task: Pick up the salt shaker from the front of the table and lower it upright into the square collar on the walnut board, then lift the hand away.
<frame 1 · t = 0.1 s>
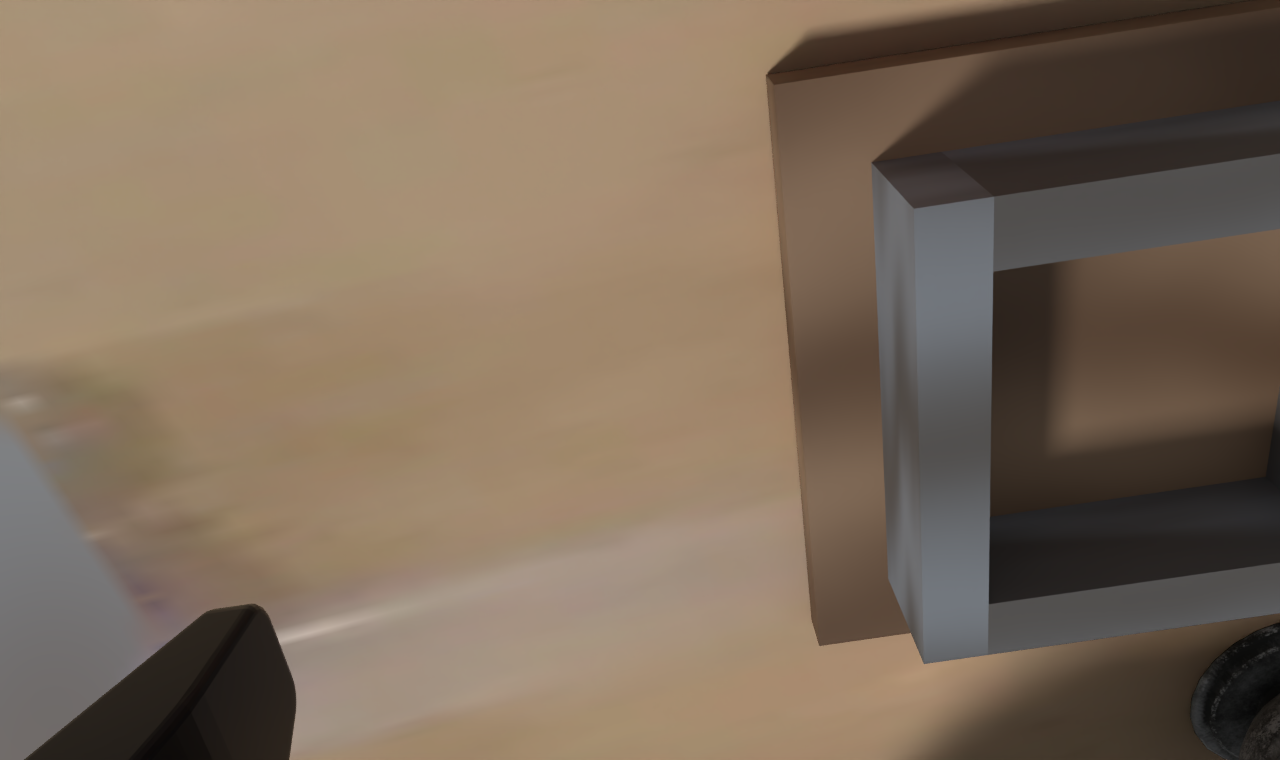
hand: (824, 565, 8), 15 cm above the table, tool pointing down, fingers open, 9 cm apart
socket board: (1095, 338, 24), on the table
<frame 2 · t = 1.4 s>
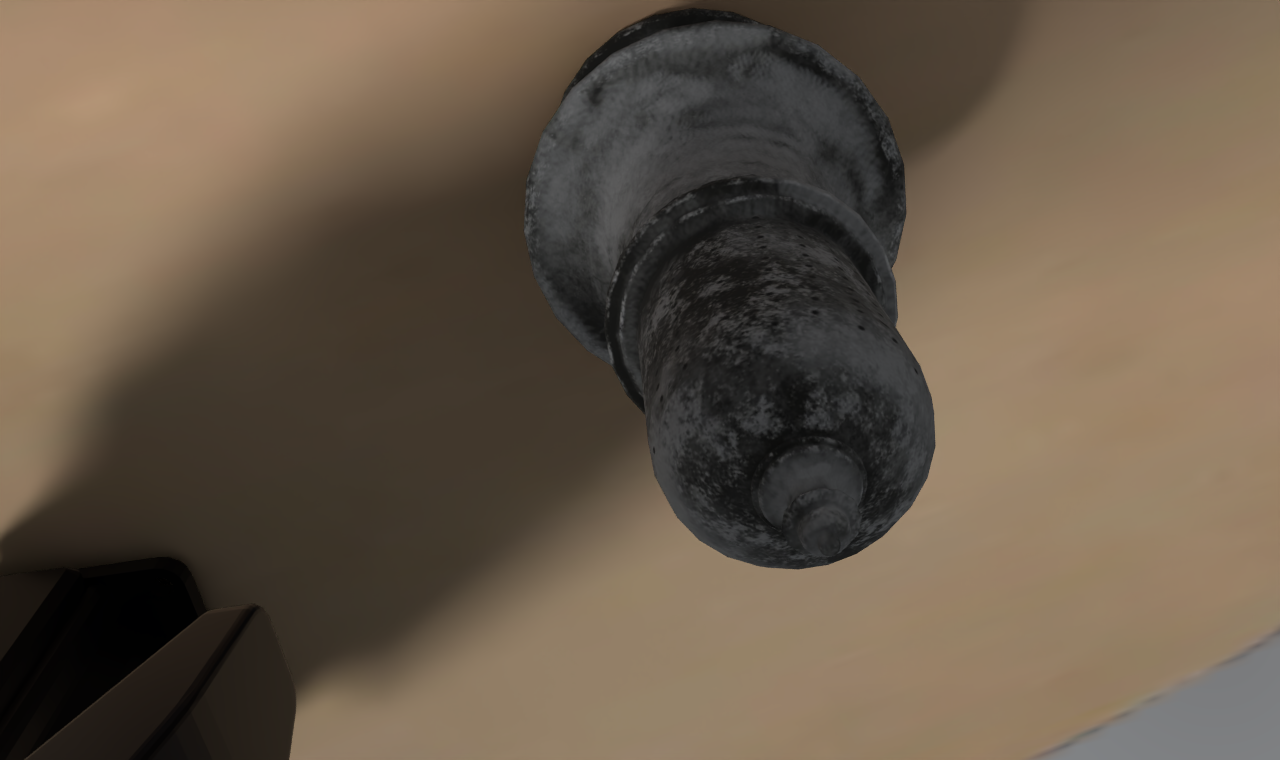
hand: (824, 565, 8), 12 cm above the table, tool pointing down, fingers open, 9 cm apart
salt shaker: (693, 157, 20), on the table
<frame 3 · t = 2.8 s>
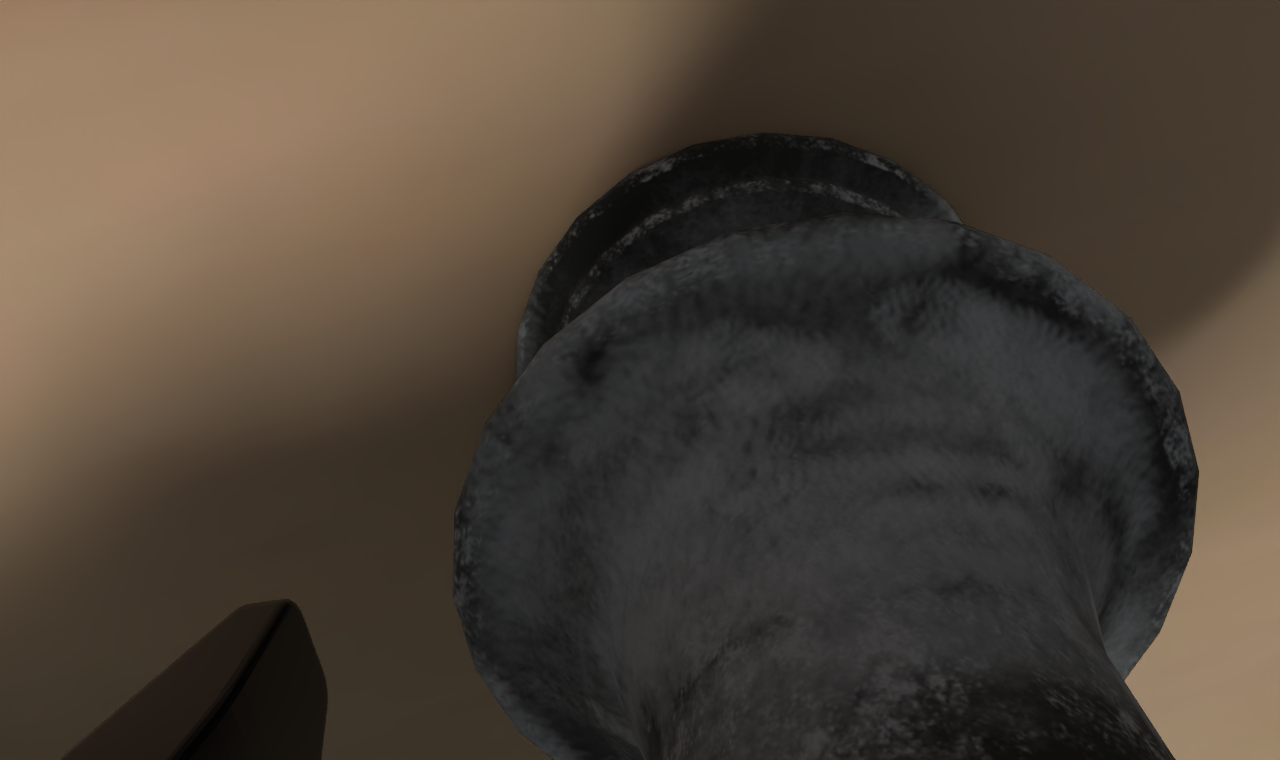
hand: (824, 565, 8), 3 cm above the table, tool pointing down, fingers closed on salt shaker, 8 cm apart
salt shaker: (755, 366, 12), on the table, touching gripper
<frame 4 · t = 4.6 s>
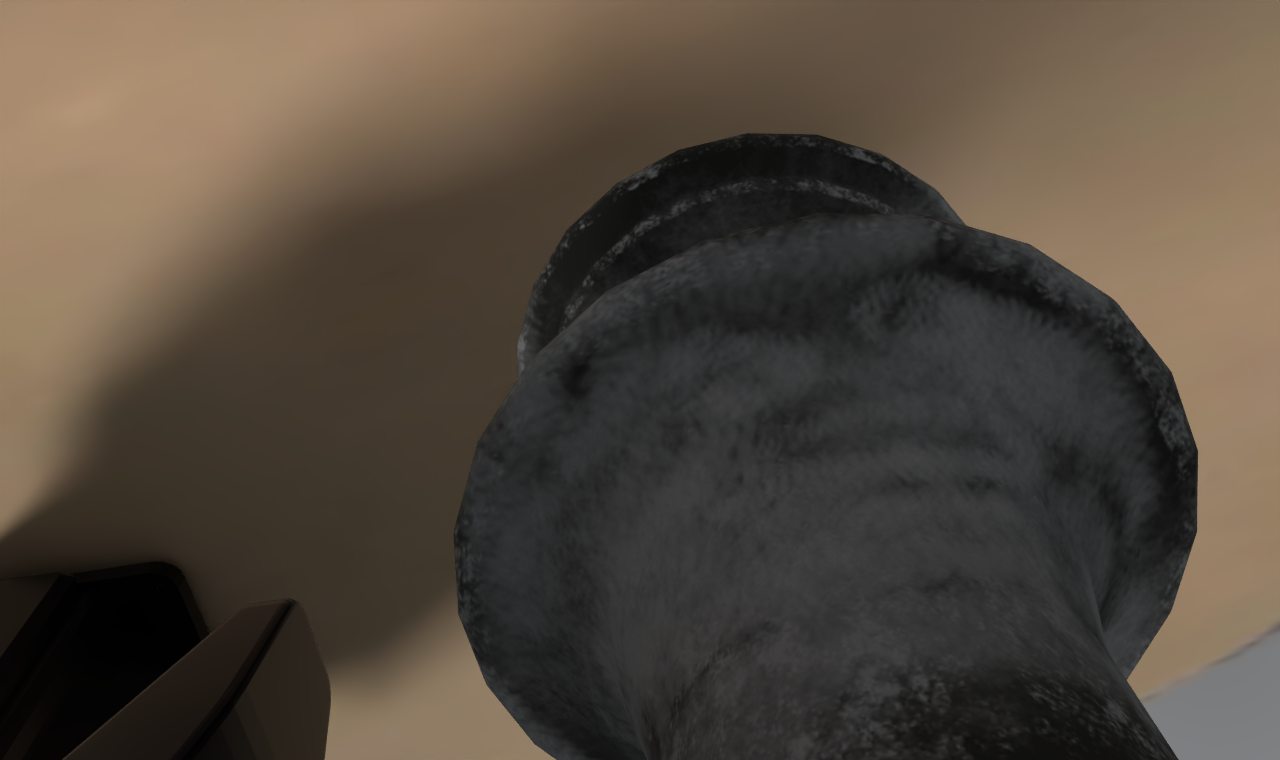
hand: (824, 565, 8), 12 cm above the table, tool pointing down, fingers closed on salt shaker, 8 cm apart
salt shaker: (757, 365, 12), point 9 cm above the table, touching gripper
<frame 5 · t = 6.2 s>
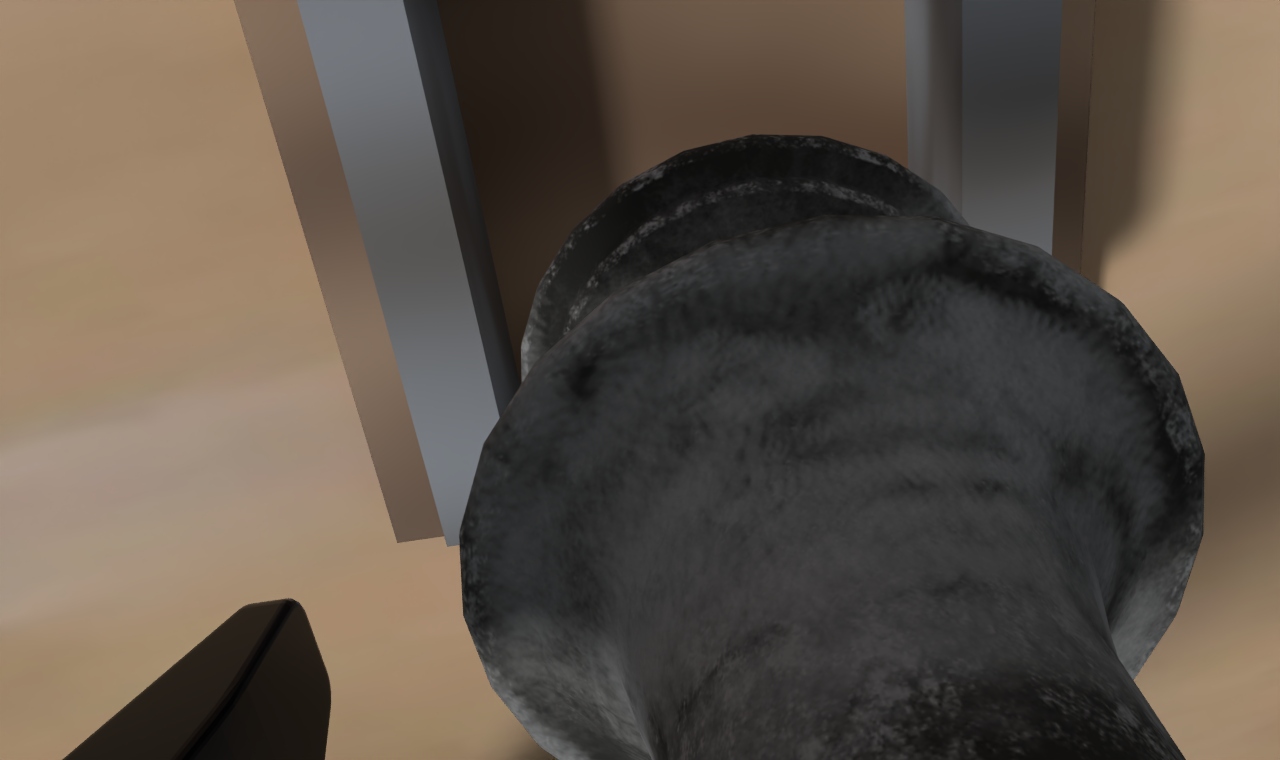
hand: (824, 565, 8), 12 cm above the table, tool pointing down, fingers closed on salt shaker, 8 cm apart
salt shaker: (761, 366, 12), point 9 cm above the table, touching gripper
socket board: (687, 149, 19), on the table
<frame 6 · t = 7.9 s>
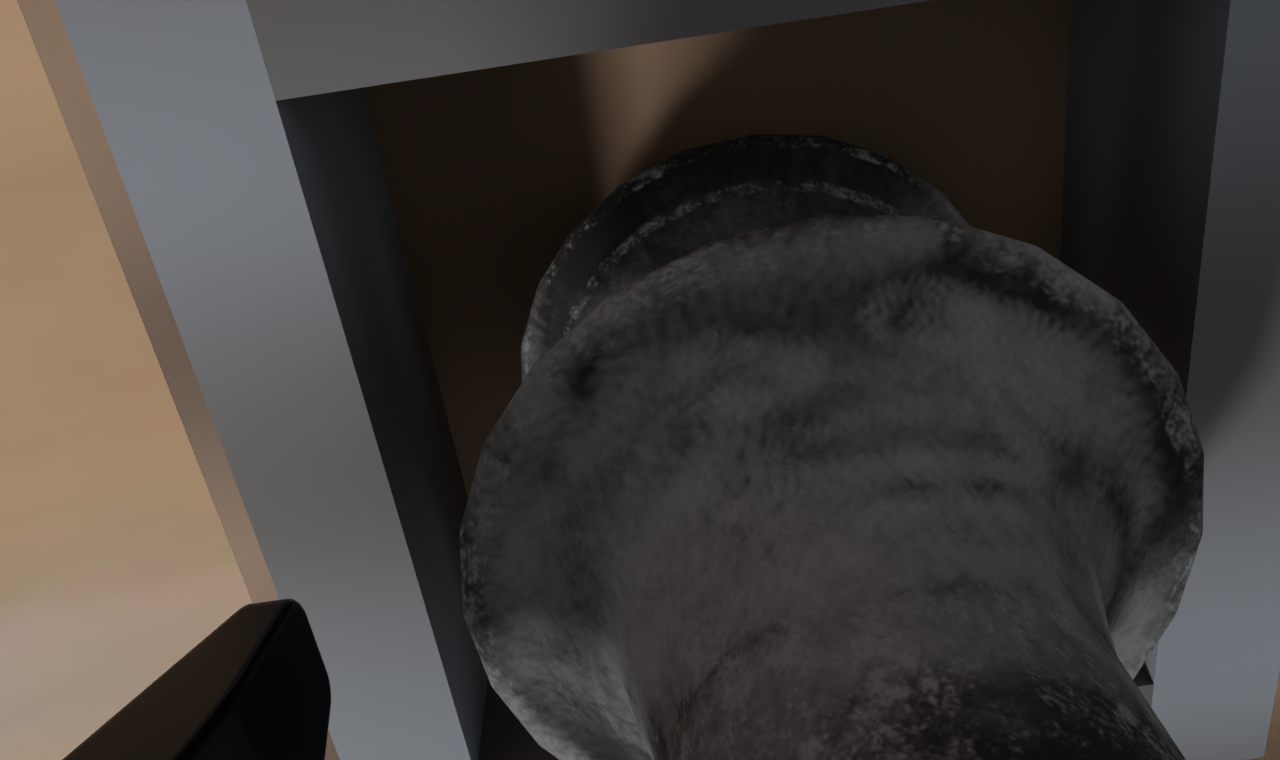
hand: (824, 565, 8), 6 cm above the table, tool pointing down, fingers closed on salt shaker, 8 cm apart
salt shaker: (761, 366, 12), point 2 cm above the table, touching gripper
socket board: (733, 283, 14), on the table
when the fingers open (6 cm above the table, at t = 9.5 s): salt shaker drops 1 cm, resting on socket board.
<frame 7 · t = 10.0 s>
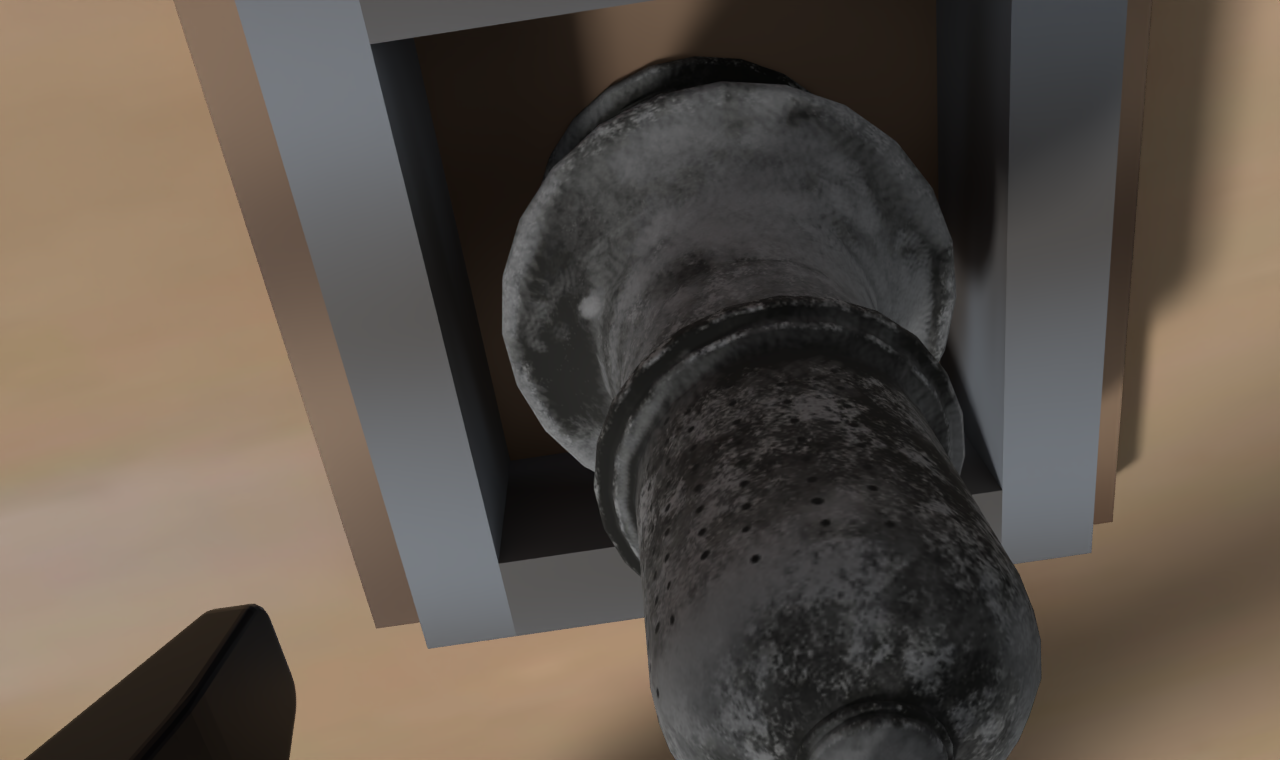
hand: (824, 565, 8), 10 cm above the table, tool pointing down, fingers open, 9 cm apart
salt shaker: (700, 223, 17), point 1 cm above the table, touching socket board
socket board: (694, 203, 18), on the table
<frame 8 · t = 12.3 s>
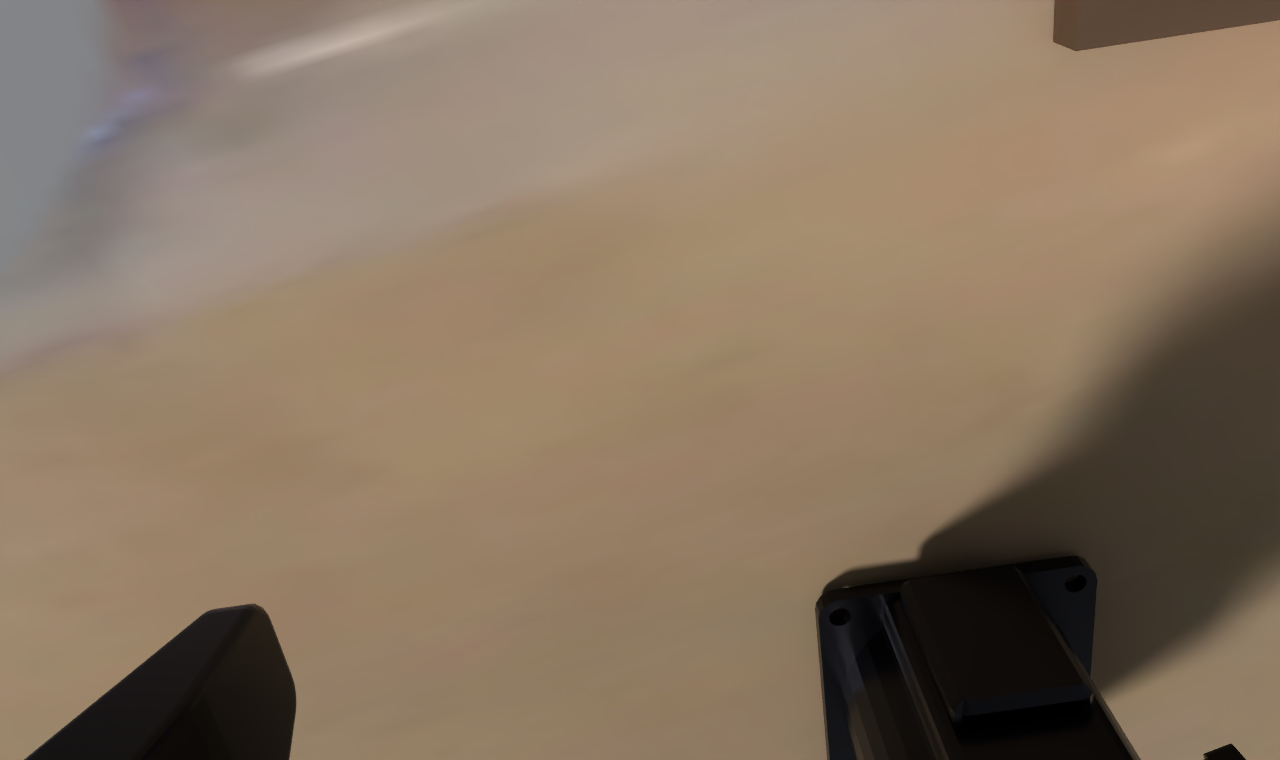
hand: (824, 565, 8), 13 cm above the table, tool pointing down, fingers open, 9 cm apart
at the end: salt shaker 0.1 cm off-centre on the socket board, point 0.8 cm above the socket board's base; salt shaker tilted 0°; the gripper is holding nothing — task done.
